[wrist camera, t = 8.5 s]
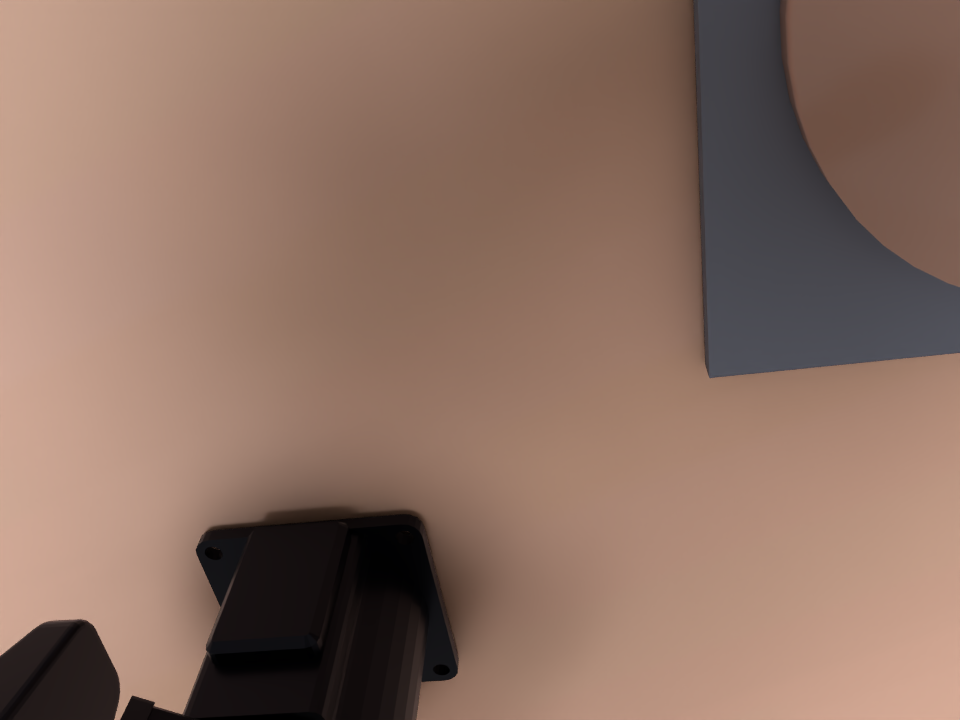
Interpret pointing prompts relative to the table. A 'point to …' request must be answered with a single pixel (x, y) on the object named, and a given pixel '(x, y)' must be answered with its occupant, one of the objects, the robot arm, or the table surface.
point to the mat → (789, 226)
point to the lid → (883, 116)
